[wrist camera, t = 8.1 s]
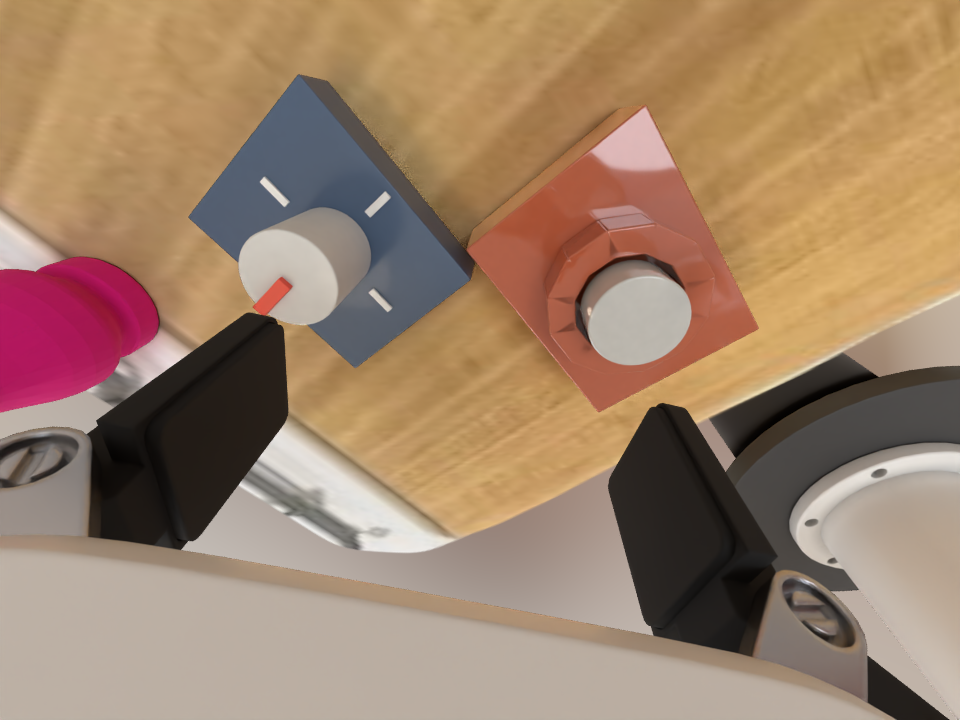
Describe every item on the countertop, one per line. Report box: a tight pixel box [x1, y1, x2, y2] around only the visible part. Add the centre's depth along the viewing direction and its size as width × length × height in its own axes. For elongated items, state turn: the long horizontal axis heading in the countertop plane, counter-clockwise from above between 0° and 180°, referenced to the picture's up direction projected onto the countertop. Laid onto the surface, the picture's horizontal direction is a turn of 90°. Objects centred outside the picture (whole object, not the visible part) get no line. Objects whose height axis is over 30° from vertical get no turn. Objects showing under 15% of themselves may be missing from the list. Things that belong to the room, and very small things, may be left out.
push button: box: [580, 260, 692, 365], centre depth 16 cm, size 4×4×2 cm
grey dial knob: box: [238, 207, 371, 325], centre depth 17 cm, size 4×4×5 cm
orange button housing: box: [466, 105, 759, 412], centre depth 19 cm, size 12×9×6 cm
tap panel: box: [189, 74, 475, 368], centre depth 21 cm, size 11×9×3 cm
